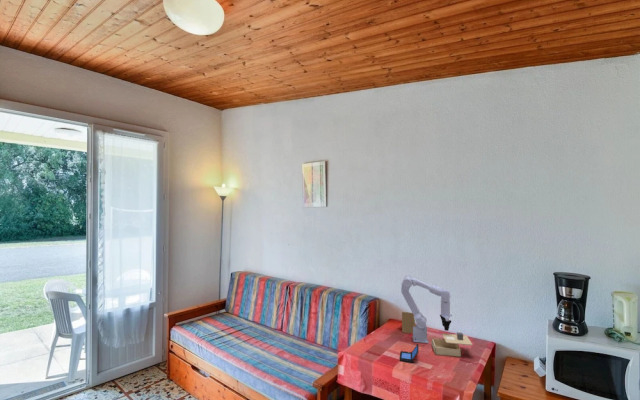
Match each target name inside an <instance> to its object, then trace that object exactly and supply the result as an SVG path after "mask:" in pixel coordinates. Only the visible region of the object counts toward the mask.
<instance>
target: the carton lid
mask: <svg viewBox="0 0 640 400" xmlns="http://www.w3.org/2000/svg"><path fill="white" fill-rule="evenodd" d="M441 335H442V337H443V339H445V341H446V343H452V344H458V345H463V346H473V343H472V341H471V339H470V338H469V336H468V335H466V334H464V333H463V332H456V334H453V333H441Z"/></svg>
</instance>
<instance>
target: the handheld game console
mask: <svg viewBox="0 0 640 400" xmlns="http://www.w3.org/2000/svg"><path fill="white" fill-rule="evenodd" d="M399 352H400V353H399V362H402V363H407V364H413V362H414V360H415V359H416V357H417V356H418V354H419V352H420V351H419V343H417V344H416V345H415V346H414V348H413V349H412V351H411V352H410V351H405V350H404V351H403V350H401V351H399Z"/></svg>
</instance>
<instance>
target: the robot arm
mask: <svg viewBox="0 0 640 400" xmlns="http://www.w3.org/2000/svg"><path fill="white" fill-rule="evenodd" d="M416 286H418V287H421V288H423V289H426V290H428V291H429V293H431V294H433V295H435V296H438V297H440V314H439V317H440V319H441V324H442V326H443V328H444V331H446V332H447V331H448V332H449V329H450V326H451V323H452V320H451V319H450V317H452V316H453V315H452V314H451V301H450V300H451V293H450V291H449V290H448V289H447V288H444V287H441V286H438V285H437V284H436V283H434V284H429V283H427V282H424V281H422V280H420V279H418V278H415V277H413V276H412V277H411V276H410V275H406V276H404V277H403V280H402V283H401V289H400V291H401V294H402V296H403V298H404V300H405V302H406V304H407V306H408V308H409V309H410V312H411V313H413V315H414V319H415V325H416V327H413V334H412V341H413V342H414V343H422V344H423V343H424V344H429V340H428V326H427V318H426V317H425V316H424V315H423V313H422V312H421V311H420V309H419V307H418V305H417V304H416V301H415V300H414V298H413V296H412V294H411V293H410V289H411V287H416Z"/></svg>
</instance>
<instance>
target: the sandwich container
mask: <svg viewBox="0 0 640 400" xmlns="http://www.w3.org/2000/svg"><path fill="white" fill-rule="evenodd" d="M416 325H417V324H416V320H415V317H414V315H413V313H412V312H408V311H407V312H406V311H401V330H402V331H401V332H402V333H406V334H411V333H412V335H413V327H416Z"/></svg>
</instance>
